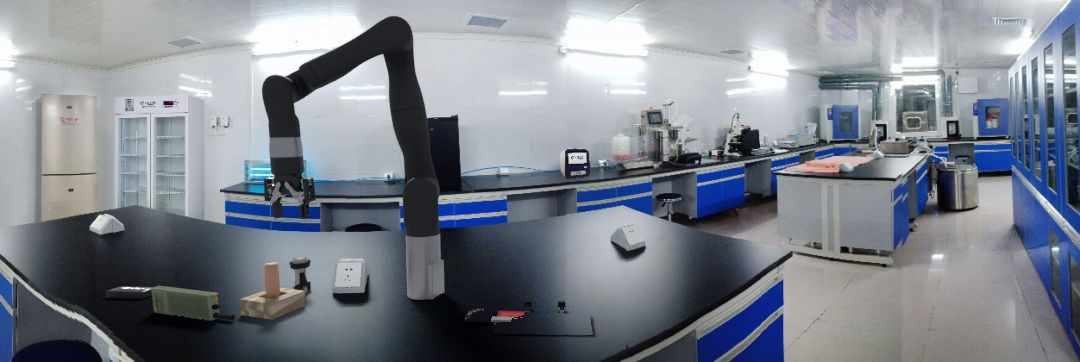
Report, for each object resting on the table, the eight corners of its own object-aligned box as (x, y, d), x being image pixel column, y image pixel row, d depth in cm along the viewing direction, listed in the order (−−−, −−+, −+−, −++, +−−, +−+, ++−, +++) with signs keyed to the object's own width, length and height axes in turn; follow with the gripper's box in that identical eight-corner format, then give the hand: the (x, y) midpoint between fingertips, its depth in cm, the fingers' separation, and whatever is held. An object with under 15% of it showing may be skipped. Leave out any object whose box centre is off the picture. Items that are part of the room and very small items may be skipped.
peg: (284, 308, 118) (281, 262, 117) (273, 313, 115) (270, 266, 114) (274, 307, 119) (271, 261, 118) (263, 311, 116) (260, 265, 115)
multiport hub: (142, 300, 126) (141, 292, 125) (105, 299, 127) (105, 291, 126) (157, 295, 130) (156, 287, 130) (121, 293, 131) (120, 285, 131)
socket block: (305, 305, 120) (304, 290, 120) (272, 319, 111) (271, 303, 110) (275, 301, 123) (275, 286, 123) (241, 314, 114) (240, 299, 114)
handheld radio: (165, 309, 119) (240, 319, 111) (151, 314, 116) (227, 325, 108) (162, 284, 118) (237, 293, 111) (148, 288, 115) (224, 298, 107)
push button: (300, 298, 126) (298, 262, 125) (283, 297, 127) (281, 261, 126) (316, 290, 132) (314, 256, 132) (299, 289, 133) (297, 255, 132)
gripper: (320, 154, 119) (324, 216, 121) (277, 155, 123) (281, 215, 125) (297, 155, 112) (301, 221, 114) (252, 156, 116) (257, 219, 118)
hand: (291, 218), depth 119 cm, fingers open, 8 cm apart
